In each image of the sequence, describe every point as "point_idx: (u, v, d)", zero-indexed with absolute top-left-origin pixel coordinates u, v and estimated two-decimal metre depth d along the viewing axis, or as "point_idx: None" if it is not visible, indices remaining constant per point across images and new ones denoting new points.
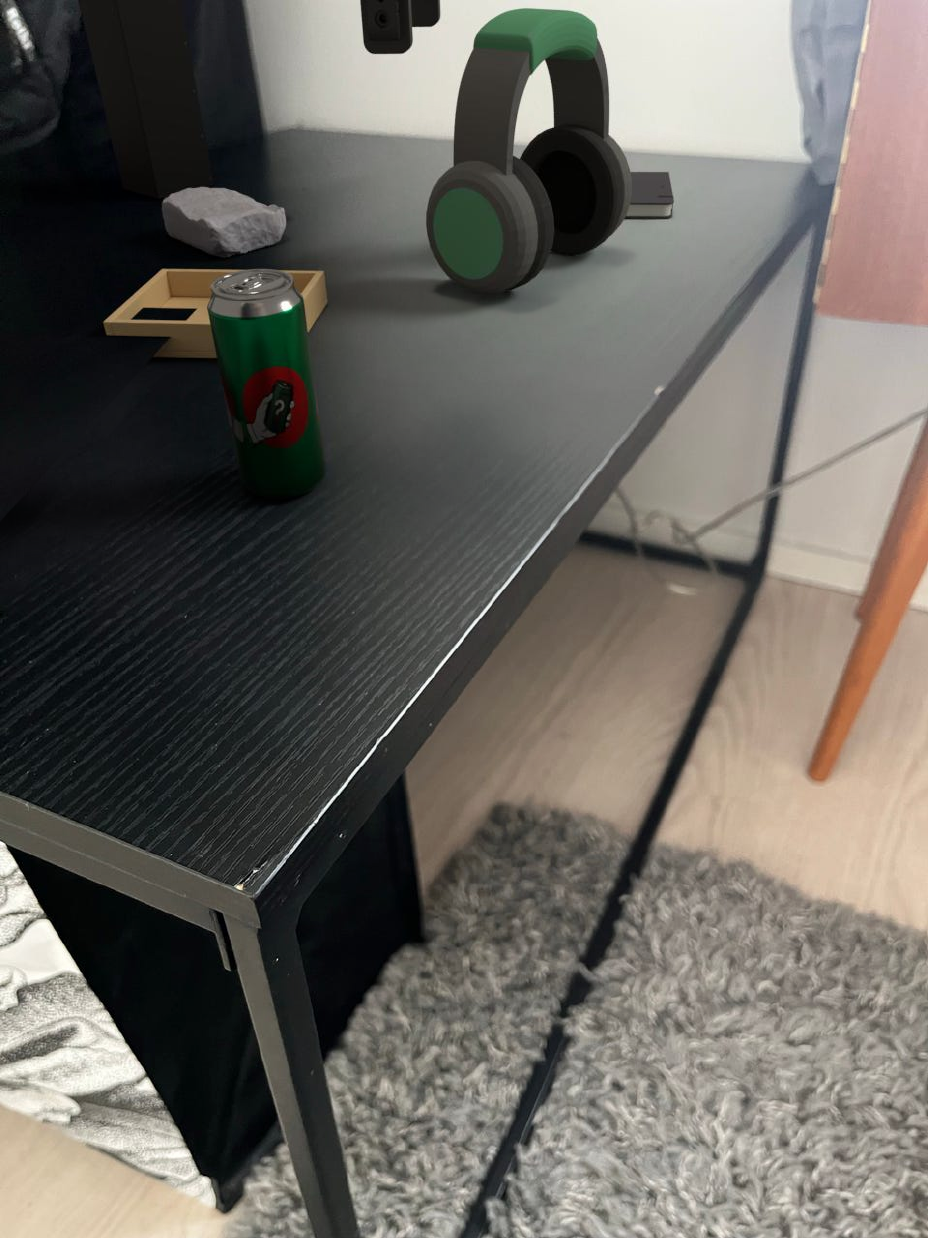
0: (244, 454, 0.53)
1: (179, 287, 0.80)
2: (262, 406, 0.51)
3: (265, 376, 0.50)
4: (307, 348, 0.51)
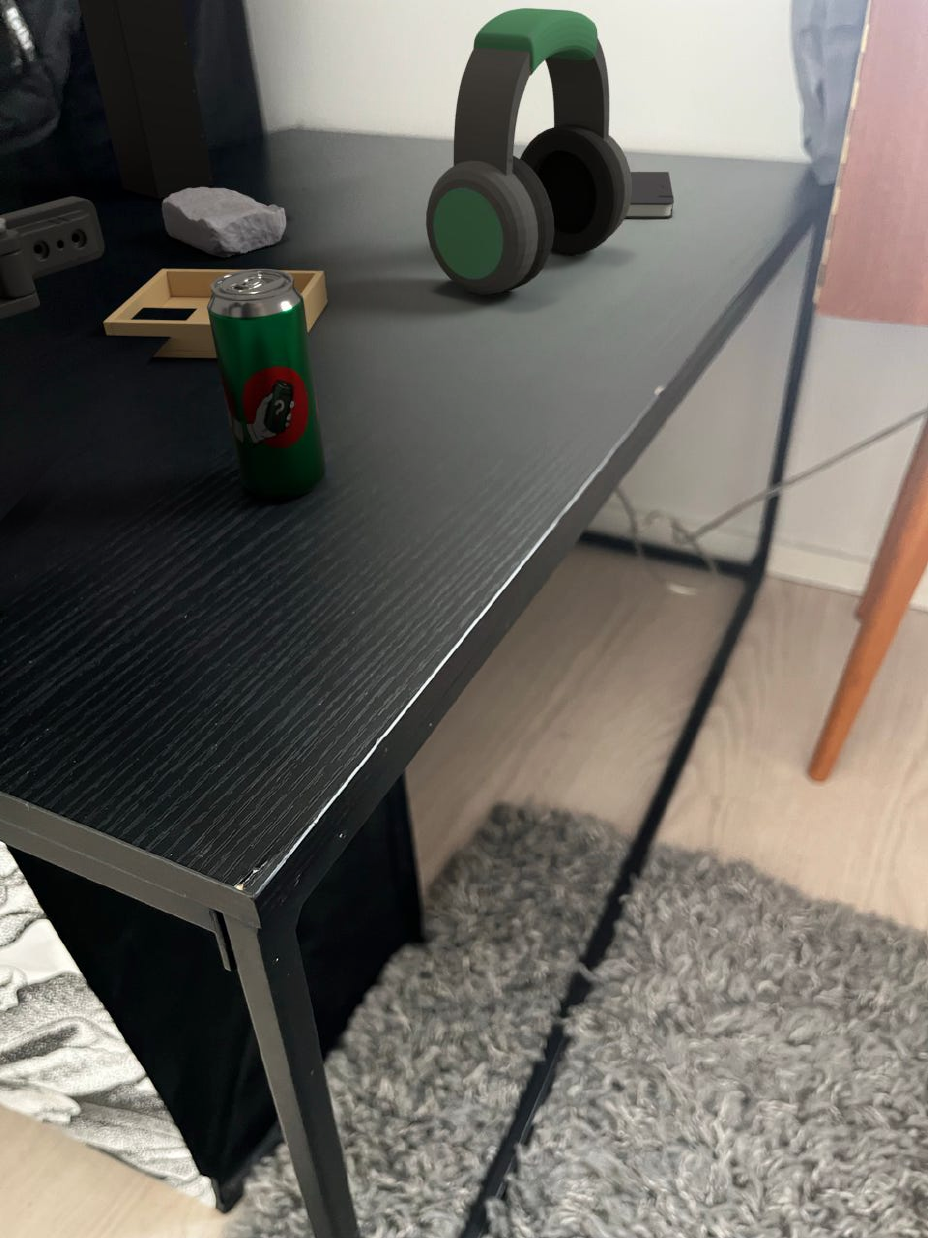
0: (244, 454, 0.53)
1: (179, 287, 0.80)
2: (262, 406, 0.51)
3: (264, 376, 0.50)
4: (307, 348, 0.51)
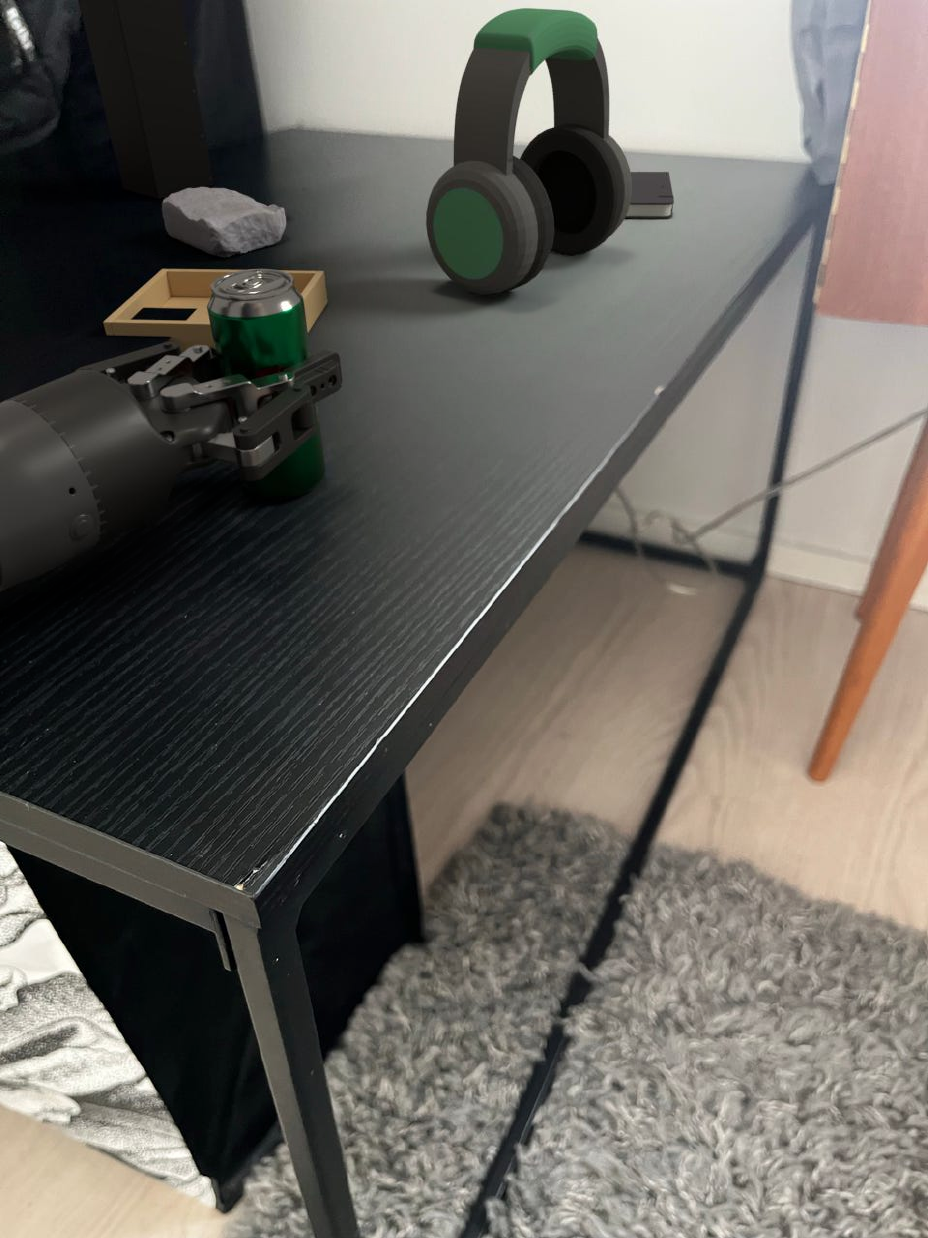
0: None
1: (179, 287, 0.80)
2: (262, 406, 0.51)
3: None
4: (307, 348, 0.51)
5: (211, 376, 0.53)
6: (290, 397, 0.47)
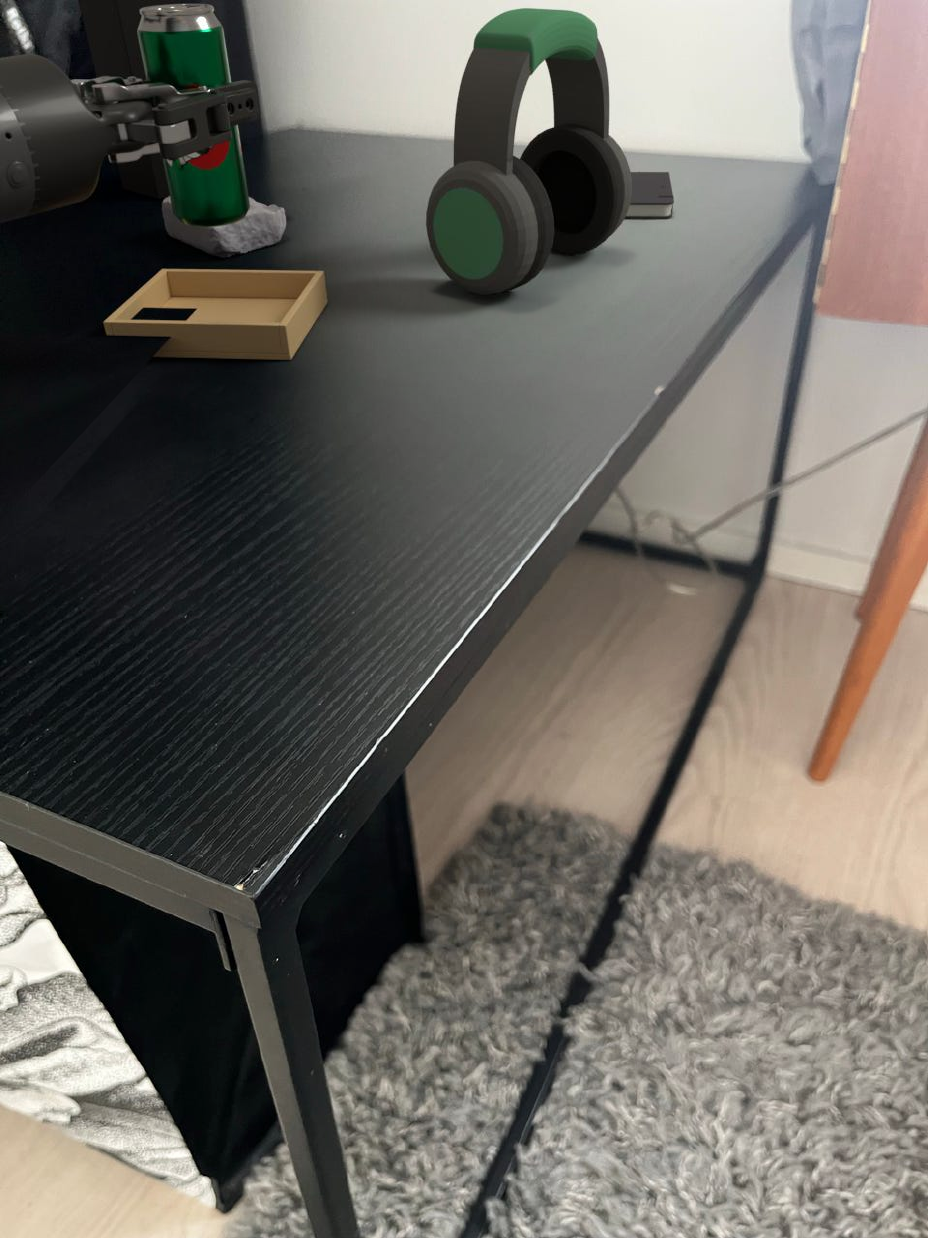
0: (174, 178, 0.60)
1: (179, 287, 0.80)
2: None
3: None
4: (227, 75, 0.58)
5: None
6: (206, 96, 0.54)
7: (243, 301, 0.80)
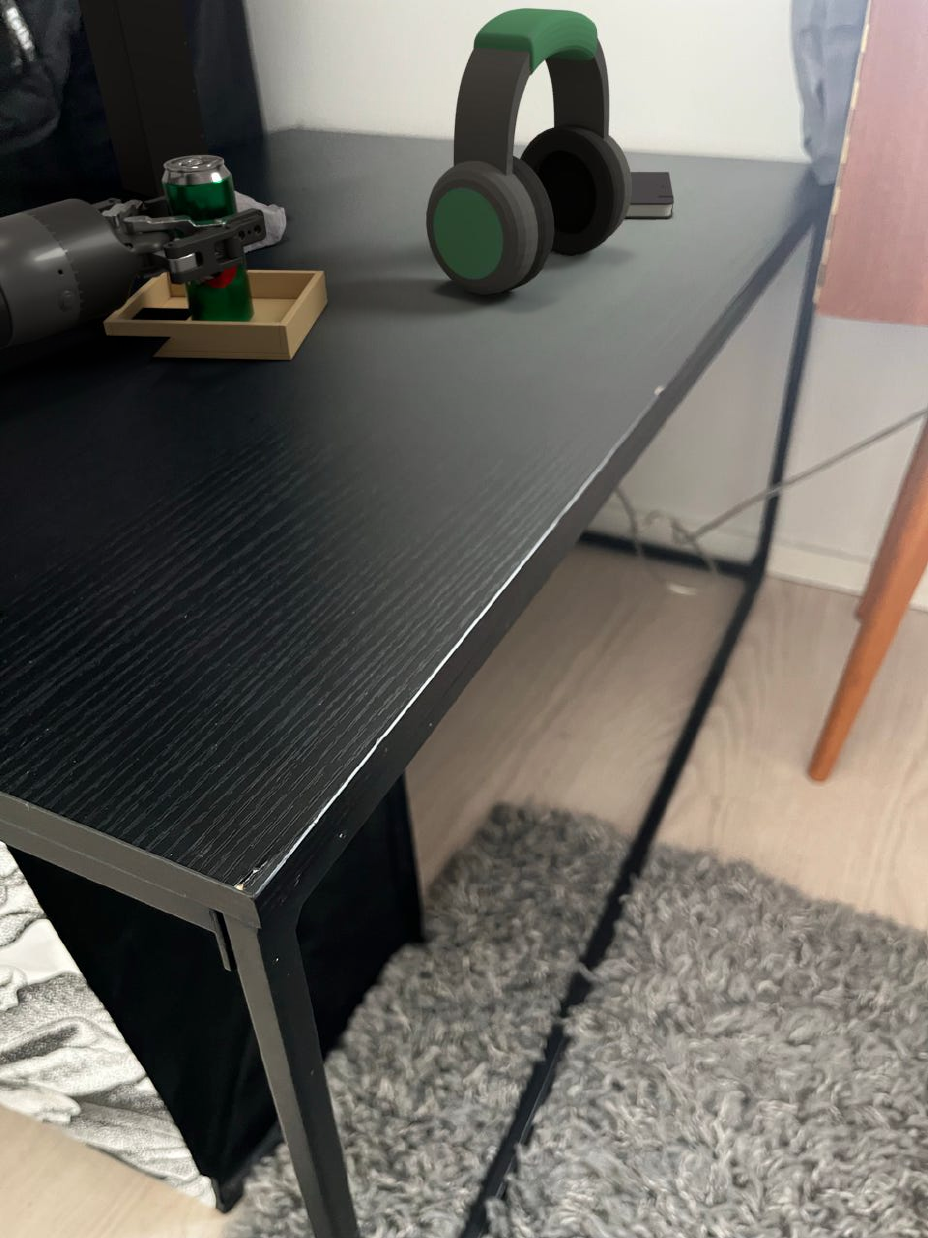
0: (191, 294, 0.72)
1: (179, 287, 0.80)
2: None
3: None
4: None
5: None
6: (218, 231, 0.65)
7: None
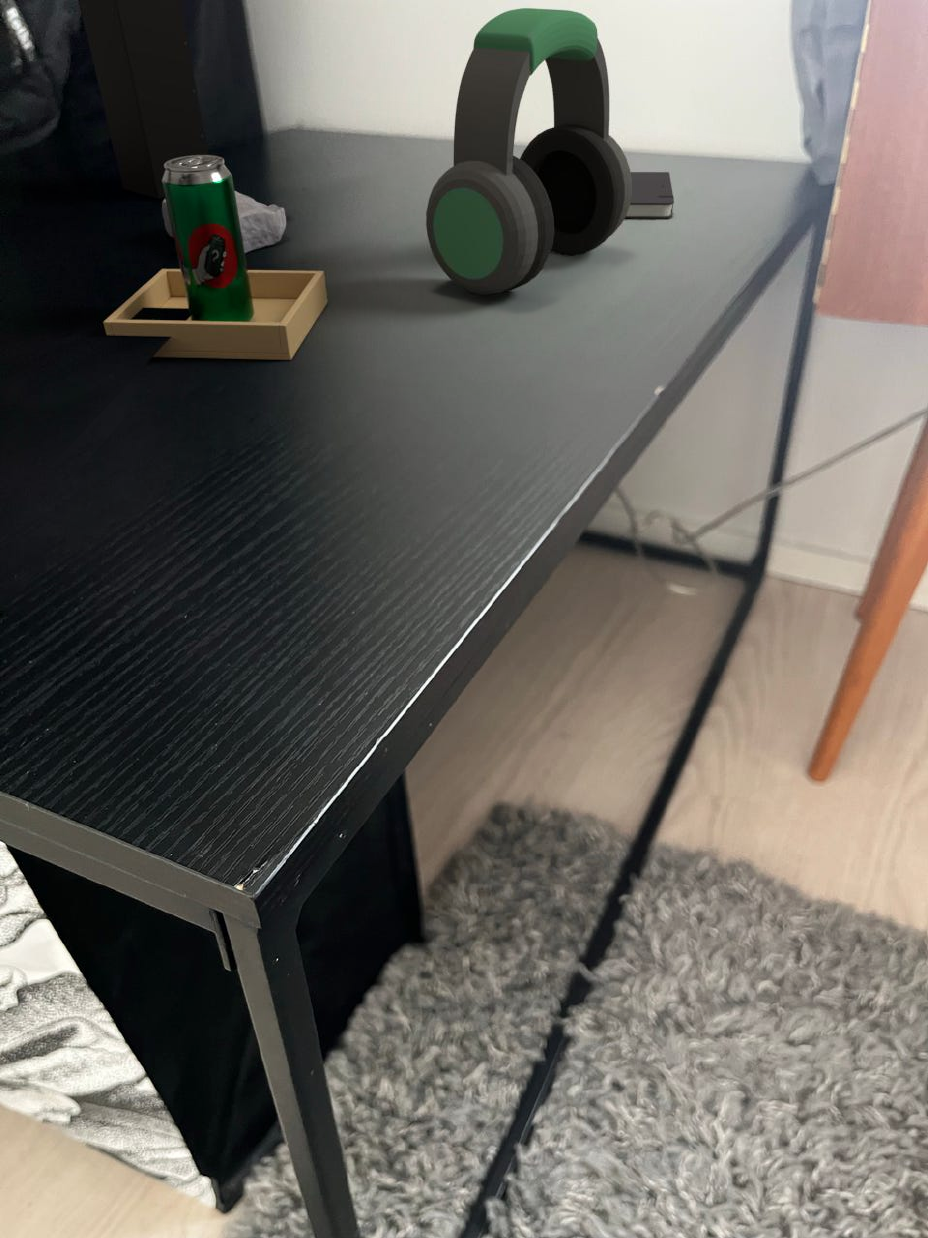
0: (191, 294, 0.72)
1: (179, 287, 0.80)
2: (202, 254, 0.70)
3: (203, 230, 0.69)
4: (235, 213, 0.70)
5: None
6: None
7: None
